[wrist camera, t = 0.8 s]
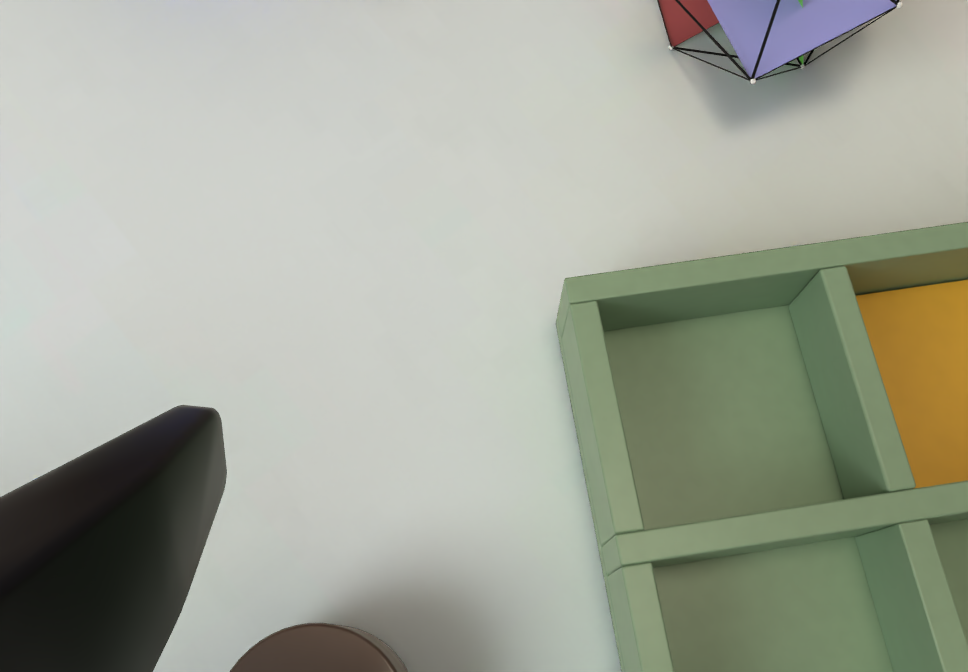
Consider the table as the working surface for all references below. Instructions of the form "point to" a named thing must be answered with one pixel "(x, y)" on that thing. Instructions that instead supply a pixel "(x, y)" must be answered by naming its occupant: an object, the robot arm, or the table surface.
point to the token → (320, 651)
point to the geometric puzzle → (769, 27)
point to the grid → (780, 454)
